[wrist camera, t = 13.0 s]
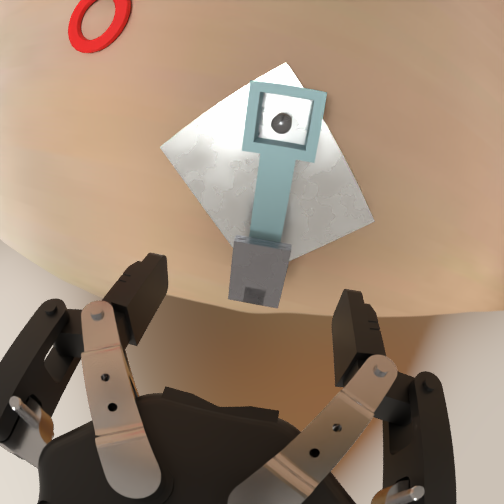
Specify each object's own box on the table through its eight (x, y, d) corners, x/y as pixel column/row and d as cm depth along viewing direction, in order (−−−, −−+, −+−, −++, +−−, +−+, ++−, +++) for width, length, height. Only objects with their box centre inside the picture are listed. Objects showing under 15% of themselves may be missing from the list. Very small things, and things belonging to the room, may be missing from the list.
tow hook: (118, 55, 22) (147, -21, 17) (20, 62, 11) (60, -52, 5) (67, 50, 22) (90, -18, 16) (-22, 64, 10) (5, -29, 5)
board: (286, 63, 21) (286, 62, 21) (372, 218, 28) (374, 221, 27) (163, 145, 27) (159, 147, 27) (255, 272, 34) (254, 276, 33)
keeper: (281, 271, 33) (277, 308, 28) (239, 263, 33) (228, 299, 28) (292, 220, 30) (291, 251, 24) (245, 211, 30) (233, 240, 25)
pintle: (287, 107, 23) (284, 110, 17) (295, 120, 24) (295, 127, 18) (274, 115, 24) (267, 120, 18) (282, 127, 24) (277, 137, 18)
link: (255, 82, 22) (250, 80, 20) (323, 93, 22) (327, 92, 19) (235, 244, 31) (230, 259, 29) (291, 254, 31) (290, 270, 28)
